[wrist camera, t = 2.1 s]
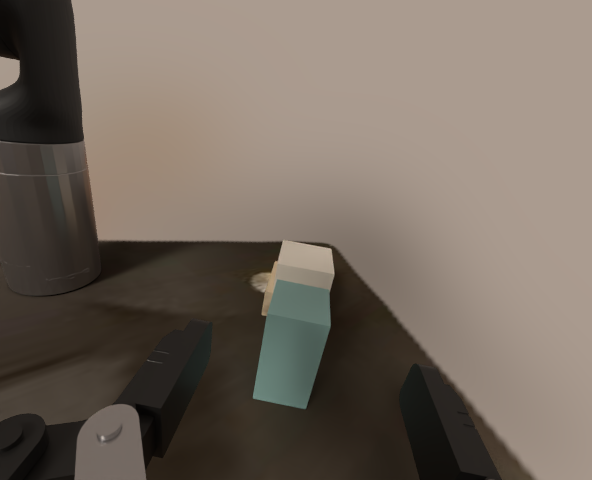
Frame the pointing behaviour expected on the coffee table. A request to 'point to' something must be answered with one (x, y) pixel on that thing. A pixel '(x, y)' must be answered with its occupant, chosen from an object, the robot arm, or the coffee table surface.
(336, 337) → the coffee table surface
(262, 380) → the teal block
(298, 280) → the tower top block
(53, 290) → the robot arm
